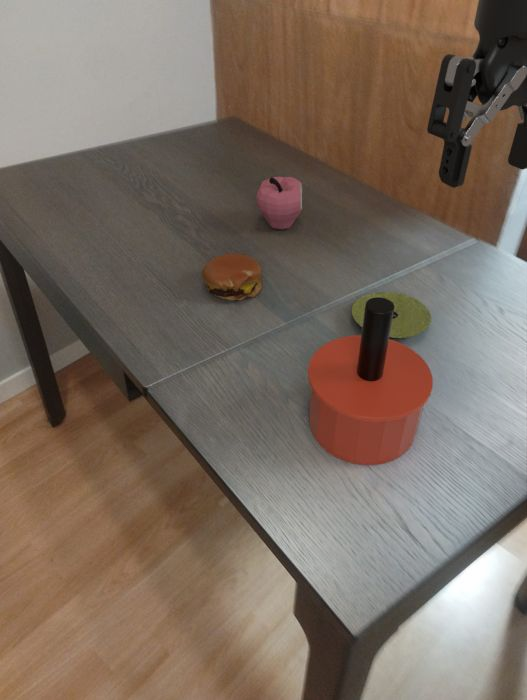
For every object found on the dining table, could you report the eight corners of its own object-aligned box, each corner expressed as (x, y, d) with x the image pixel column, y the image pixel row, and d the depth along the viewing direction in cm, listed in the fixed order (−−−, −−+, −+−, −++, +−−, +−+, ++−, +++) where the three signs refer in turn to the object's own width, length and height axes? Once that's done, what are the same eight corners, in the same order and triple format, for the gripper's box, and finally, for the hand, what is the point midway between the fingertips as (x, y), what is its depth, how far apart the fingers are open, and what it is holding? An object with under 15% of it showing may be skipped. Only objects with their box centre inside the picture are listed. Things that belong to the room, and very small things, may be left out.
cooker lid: (421, 345, 64) (438, 271, 57) (440, 430, 53) (463, 352, 47) (309, 340, 65) (312, 267, 58) (305, 422, 54) (310, 345, 48)
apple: (298, 239, 98) (300, 187, 92) (252, 235, 100) (251, 183, 93) (305, 216, 105) (307, 166, 99) (263, 213, 107) (262, 163, 100)
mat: (352, 298, 83) (353, 288, 82) (426, 305, 82) (428, 294, 80) (348, 343, 75) (349, 332, 74) (431, 352, 73) (433, 340, 72)
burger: (219, 267, 91) (217, 243, 88) (270, 277, 88) (270, 252, 85) (193, 298, 84) (190, 273, 81) (248, 310, 81) (247, 284, 78)
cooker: (408, 389, 68) (419, 343, 63) (422, 468, 58) (435, 421, 53) (310, 384, 69) (313, 339, 64) (308, 461, 59) (311, 415, 54)
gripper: (512, -33, 34) (456, 207, 44) (652, -45, 39) (572, 173, 49) (431, -40, 39) (398, 176, 49) (564, -50, 44) (509, 149, 54)
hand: (485, 175), depth 49 cm, fingers open, 8 cm apart
